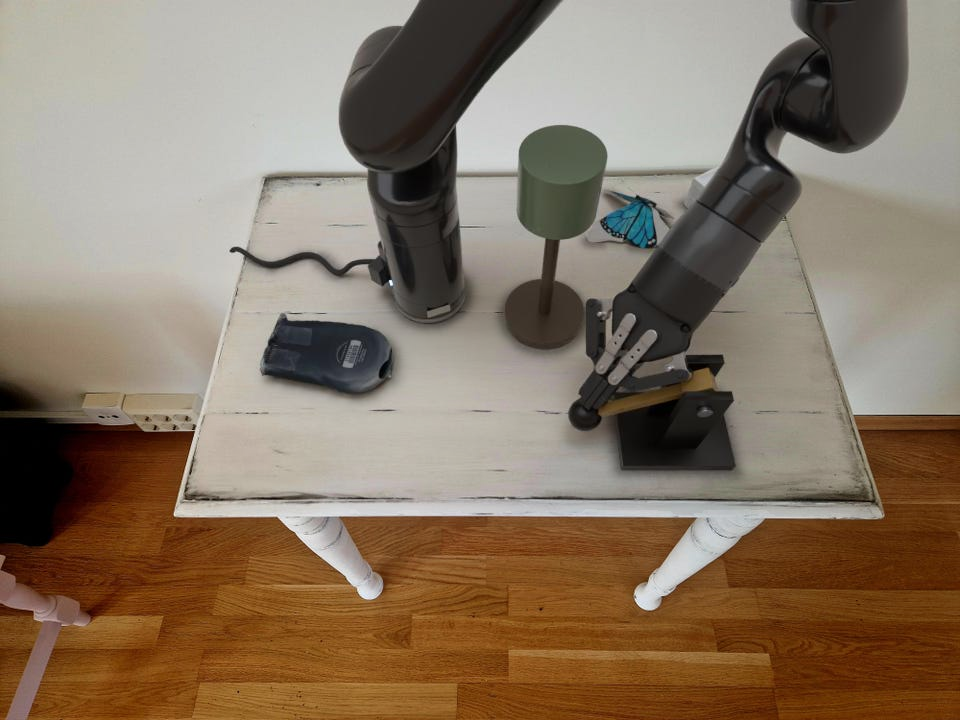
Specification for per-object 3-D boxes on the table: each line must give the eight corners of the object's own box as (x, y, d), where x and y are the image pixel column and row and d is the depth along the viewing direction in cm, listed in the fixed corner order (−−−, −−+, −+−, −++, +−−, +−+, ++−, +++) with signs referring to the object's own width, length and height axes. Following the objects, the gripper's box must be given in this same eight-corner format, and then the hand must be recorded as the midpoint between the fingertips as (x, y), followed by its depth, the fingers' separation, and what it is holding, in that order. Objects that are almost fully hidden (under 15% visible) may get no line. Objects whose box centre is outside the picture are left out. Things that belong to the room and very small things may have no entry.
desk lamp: (489, 323, 73) (485, 161, 51) (533, 274, 77) (548, 104, 55) (554, 363, 70) (579, 208, 48) (597, 310, 74) (639, 144, 52)
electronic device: (269, 394, 70) (383, 401, 67) (248, 366, 66) (369, 372, 63) (297, 337, 76) (403, 341, 73) (280, 308, 72) (392, 311, 68)
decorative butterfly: (672, 241, 74) (602, 208, 74) (648, 269, 80) (584, 239, 80) (687, 189, 79) (622, 159, 79) (664, 219, 84) (603, 191, 84)
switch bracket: (621, 469, 63) (647, 420, 52) (612, 396, 67) (634, 337, 56) (731, 470, 62) (782, 420, 51) (715, 396, 67) (758, 336, 56)
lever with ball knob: (578, 439, 62) (563, 428, 60) (575, 409, 64) (561, 397, 62) (722, 406, 55) (712, 391, 52) (715, 373, 57) (705, 358, 54)
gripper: (625, 220, 52) (524, 366, 59) (749, 306, 47) (622, 456, 53) (650, 231, 58) (556, 363, 65) (762, 308, 53) (647, 443, 60)
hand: (586, 405), depth 59 cm, fingers closed
